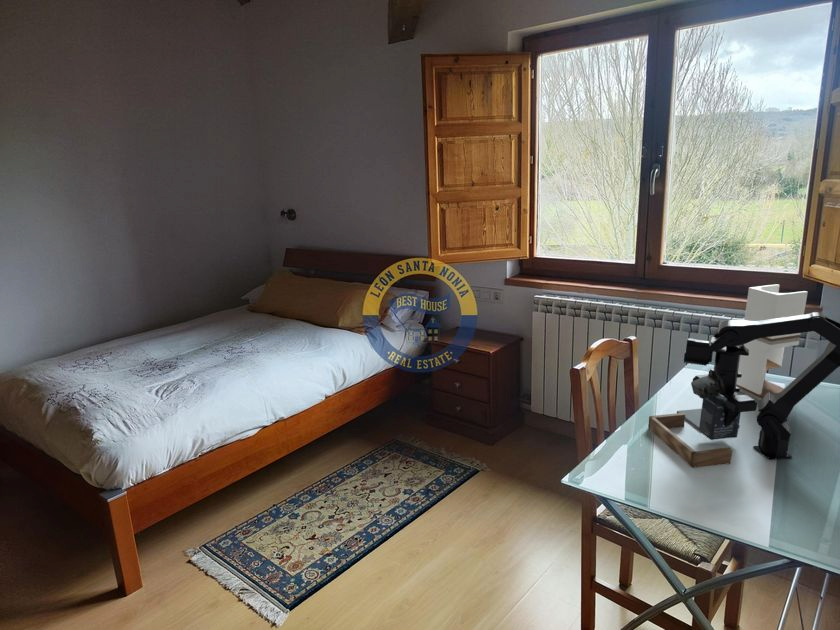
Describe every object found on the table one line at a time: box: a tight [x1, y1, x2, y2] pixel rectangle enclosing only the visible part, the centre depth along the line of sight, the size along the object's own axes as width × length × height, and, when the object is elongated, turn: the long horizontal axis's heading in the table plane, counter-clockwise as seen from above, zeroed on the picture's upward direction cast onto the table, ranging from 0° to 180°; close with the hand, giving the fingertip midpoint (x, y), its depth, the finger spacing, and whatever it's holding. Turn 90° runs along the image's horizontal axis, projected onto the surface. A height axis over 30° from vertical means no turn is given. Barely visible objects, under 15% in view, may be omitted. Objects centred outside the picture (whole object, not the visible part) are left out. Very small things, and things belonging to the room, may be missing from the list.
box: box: [698, 395, 741, 441], centre depth 152 cm, size 8×6×11 cm
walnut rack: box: [647, 412, 733, 469], centre depth 153 cm, size 21×10×4 cm, turn 8°
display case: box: [736, 283, 809, 401], centre depth 179 cm, size 11×11×35 cm
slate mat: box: [676, 408, 740, 431], centre depth 166 cm, size 12×12×1 cm
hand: (719, 421), depth 152 cm, fingers closed on box, 6 cm apart
